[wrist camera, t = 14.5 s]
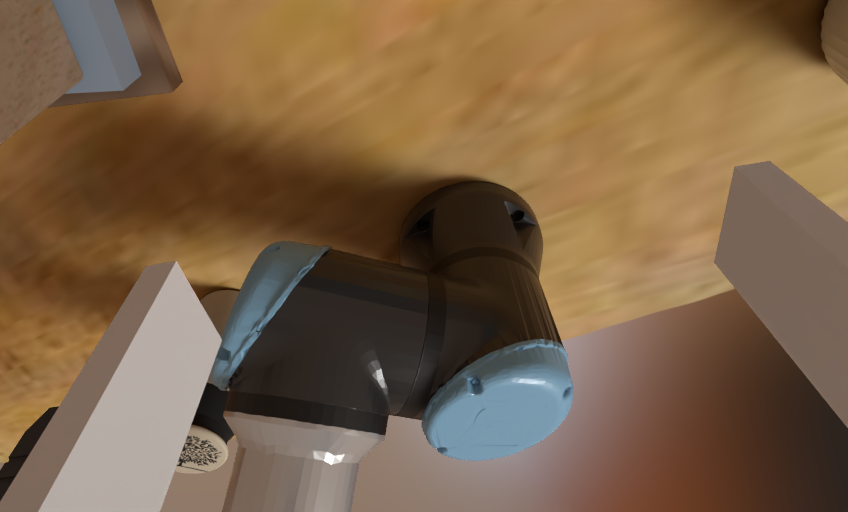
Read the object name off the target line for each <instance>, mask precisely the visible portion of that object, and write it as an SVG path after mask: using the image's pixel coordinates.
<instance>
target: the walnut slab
mask: <svg viewBox="0 0 848 512" xmlns="http://www.w3.org/2000/svg"><path fill="white" fill-rule="evenodd" d="M114 2H115V4H116V7H117V10H118V13H119V15H120V18H121V21H122V23H123V26H124V29H125V32H126V34H127V37H128V40H129V42H130V45H131V48H132V51H133V53H134V56H135V59H136V61H137V64H138V67H139V70H140V72H141V76H140V77H139V78H138V79H136V80H135V81H134V82H133V83H132V84H130V85H129V86H128V87H127V88H126V89H125V90H123V91H106V92H88V93H69V94H63V95H62V96H61V97H60V98H58V99H57V100H56V101H55V102H53V103H52V104H51V105H50V106H48V107H55V106H63V105H71V104H80V103H88V102H96V101H105V100H113V99H121V98H130V97H138V96H146V95H154V94H163V93H171V92H173V91H174V90H175V89H176V88H177V87H178V86H179V85H180V84H181V83H182V82H183V81H182V78H181V76H180V73H179V71H178V68H177V65H176V63H175V60H174V58H173V55H172V53H171V50H170V47H169V45H168V42H167V40H166V37H165V35H164V32H163V29H162V27H161V24H160V22H159V19H158V17H157V14H156V11H155V9H154V6H153V4H152V1H151V0H114Z"/></svg>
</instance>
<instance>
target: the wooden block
mask: <svg viewBox="0 0 848 512" xmlns="http://www.w3.org/2000/svg"><path fill="white" fill-rule="evenodd" d="M82 79H83V72H82V70H81V68H80V65H79V63H78V60H77V58H76V56H75V53H74V51H73V49H72V46H71V44H70V42H69V39H68V37H67V34H66V32H65V30H64V27H63V25H62V23H61V20H60V18H59V15H58V13H57V11H56V8H55V6H54V4H53V1H52V0H0V144H2V143H3V142H4V141H6V140H7V139H8V138H9V137H11V136H12V135H13V134H14V133H16V132H17V131H18V130H19V129H21V128H22V127H23V126H24V125H26V124H27V123H28V122H29V121H31V120H32V119H33V118H34V117H36V116H37V115H38V114H40V113H41V112H42V111H43V110H45V109H46V108H47V107H48V106H50V105H51V104H52V103H53V102H55V101H56V100H57V99H58V98H60V97H61V96H62V95H63V94H65V93H66V92H67V91H68V90H70V89H71V88H72V87H73V86H75V85H76V84H77V83H79V82H80V81H81V80H82Z"/></svg>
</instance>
